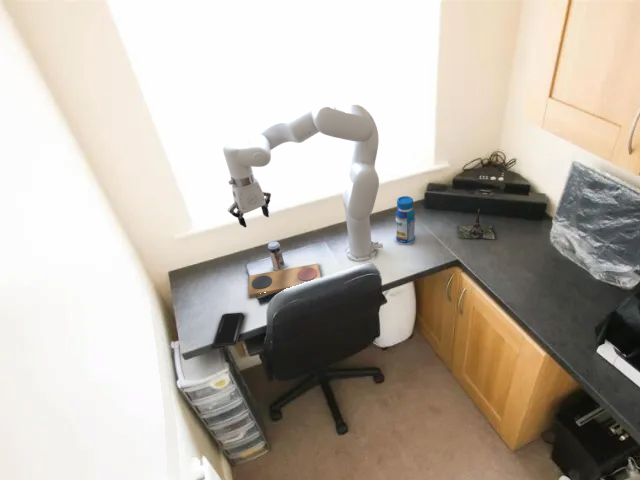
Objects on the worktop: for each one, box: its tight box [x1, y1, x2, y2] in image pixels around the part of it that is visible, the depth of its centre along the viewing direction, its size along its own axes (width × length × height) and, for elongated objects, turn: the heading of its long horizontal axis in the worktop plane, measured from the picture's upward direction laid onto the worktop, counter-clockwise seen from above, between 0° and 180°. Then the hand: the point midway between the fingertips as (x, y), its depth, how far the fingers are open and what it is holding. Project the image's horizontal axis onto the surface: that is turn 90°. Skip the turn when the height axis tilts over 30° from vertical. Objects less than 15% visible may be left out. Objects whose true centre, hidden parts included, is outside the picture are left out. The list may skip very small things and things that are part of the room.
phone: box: [212, 312, 245, 348], centre depth 146 cm, size 8×1×15 cm
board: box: [248, 263, 322, 298], centre depth 165 cm, size 28×12×2 cm, turn 103°
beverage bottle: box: [395, 195, 416, 245], centre depth 178 cm, size 8×8×20 cm
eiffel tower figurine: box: [458, 208, 496, 240], centre depth 182 cm, size 15×10×13 cm
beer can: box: [267, 240, 286, 271], centre depth 169 cm, size 5×5×12 cm
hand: (255, 220), depth 157 cm, fingers open, 9 cm apart
